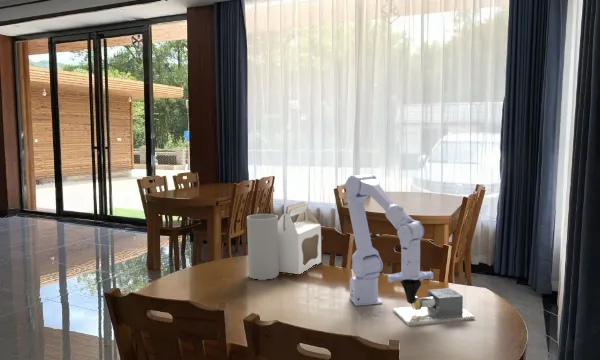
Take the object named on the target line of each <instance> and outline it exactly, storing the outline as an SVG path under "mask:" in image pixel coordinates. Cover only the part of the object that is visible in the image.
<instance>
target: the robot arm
mask: <svg viewBox="0 0 600 360" xmlns="http://www.w3.org/2000/svg"><path fill="white" fill-rule="evenodd" d="M344 187H345V191H346V192H345V193H346V202H347V206H348V212H349V216H350V222H351V227H352V232H353V237H354V242H355V247H356V250H355V251H354V253H353V254H352V255H351V261H352V264H351V268H352V270H351V271H352V273H353V274H354V276H351V277H350V279H349V298H348V299H350V300H351V302H353V304H354V305H355V306H356V307H358V306H368V305H369V306H370V305H379V304H383V302H382V300H381V299H380V298H379V276H380V272H382V270H383V268H384V267H383V265H384V264H383V261H382V258H381V257H380V253H379V251H378V250H377V249H376V248H375V247H373V244H372V243H373V242H372V239H371V235H370V228H369V225H368V224H369V222H368V219H367V214H366V210H365V201H366V199H367V198H369V196H370V197H371V198H372V199H373V200H374V201H375V202H376V203H377V204H378V205H379V206H380V207H381V208H382V209H383V210H384V211H385V213H384V216H385V218H386V219H387V221H389V222H390V223H391V224H392V225H393V227H394V229H396V230H397V231H396V234H397V237H398V239H399V245H400V248H401V249H400V251H401V253H400V255H401V256H400V257H401V259H400V262H401V263H400V265H401V268H400V269H401V271H400V272H396V273H392V274H387V282H388V283H394V282H400V283H401V286H402V288H403V291H404V293H405V297H406V302H407V303H408V304H410V305H411V303H414V299H415V296H417V293H418V290H419V289H420V287H421V286H422V281H420V280H434V272H432V271H431V270H430V271H422V270H421V239H422V238H423V237H424V236H425V235H424V234H425V228H424V225H423V224H422V223H421V221H419V220H415V219H413V218H412V217H411V216H410V215H409V214H408V213H407V212H406V211H405V209H404V207H403V205H400V204H396V203H395V204H394V202H393V201H392V200H391V198H390V197H389V196H388V194H387V193H386V192H385V190H384V189H383V188H382V187H381V185H380V180H379V179H378V178H377V176H376V175H375V174H373V173H368V174H360V175H359V174H358V175H354V174H353V175H350V176H349V177H348V178H347V179H346V181H345V183H344Z"/></svg>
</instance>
